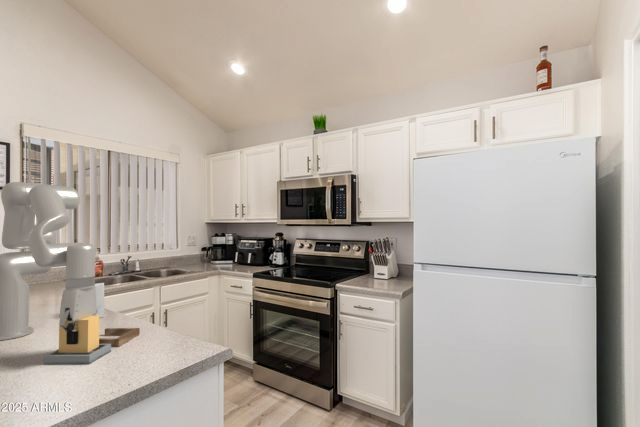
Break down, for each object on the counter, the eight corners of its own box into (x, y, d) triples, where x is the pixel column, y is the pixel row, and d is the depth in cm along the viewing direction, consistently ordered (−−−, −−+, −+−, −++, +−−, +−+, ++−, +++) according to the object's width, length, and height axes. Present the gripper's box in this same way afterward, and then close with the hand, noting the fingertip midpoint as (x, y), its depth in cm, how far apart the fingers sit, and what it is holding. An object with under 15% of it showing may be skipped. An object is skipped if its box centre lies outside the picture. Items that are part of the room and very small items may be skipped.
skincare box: (104, 317, 145) (104, 284, 146) (87, 319, 142) (88, 286, 143) (104, 313, 152) (105, 281, 153) (88, 315, 149) (89, 283, 150)
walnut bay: (82, 346, 110) (82, 339, 110) (106, 334, 122) (106, 328, 122) (118, 346, 110) (119, 339, 110) (139, 334, 122) (139, 327, 122)
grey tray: (43, 364, 96) (44, 355, 96) (69, 351, 106) (69, 343, 106) (89, 364, 96) (89, 355, 96) (110, 351, 106) (111, 343, 106)
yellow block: (56, 352, 99) (57, 320, 99) (69, 346, 104) (70, 315, 104) (87, 352, 99) (88, 319, 99) (98, 346, 104) (99, 315, 104)
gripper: (88, 278, 111) (87, 331, 110) (45, 288, 94) (44, 351, 93) (109, 278, 110) (109, 331, 110) (71, 288, 93) (69, 351, 93)
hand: (79, 340), depth 101 cm, fingers closed on yellow block, 5 cm apart
